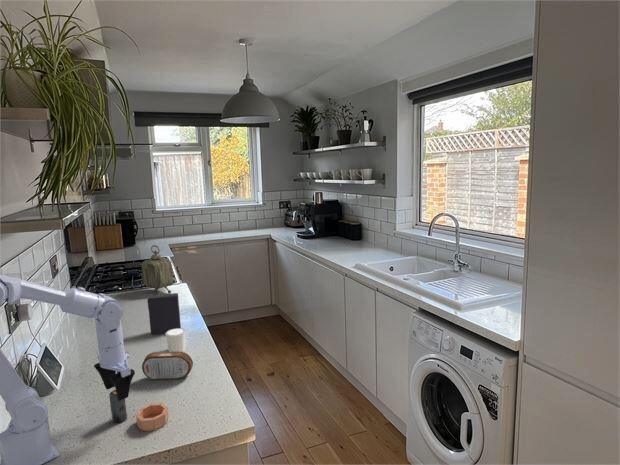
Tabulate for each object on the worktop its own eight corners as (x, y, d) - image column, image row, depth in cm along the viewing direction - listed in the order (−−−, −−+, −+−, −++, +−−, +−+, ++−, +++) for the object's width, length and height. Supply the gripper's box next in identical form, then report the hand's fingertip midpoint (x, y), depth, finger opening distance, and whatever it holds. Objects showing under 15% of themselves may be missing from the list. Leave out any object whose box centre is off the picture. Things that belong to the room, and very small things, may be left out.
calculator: (181, 327, 164) (178, 292, 162) (180, 332, 160) (177, 295, 158) (152, 331, 162) (148, 295, 159) (150, 335, 158) (147, 298, 155)
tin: (194, 374, 128) (192, 349, 127) (191, 379, 125) (189, 354, 123) (145, 376, 128) (143, 351, 126) (142, 382, 125) (139, 356, 123)
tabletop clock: (174, 293, 209) (170, 245, 204) (159, 298, 202) (154, 248, 197) (158, 288, 217) (153, 242, 213) (142, 293, 210) (137, 245, 206)
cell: (116, 425, 104) (112, 396, 103) (110, 419, 106) (106, 391, 105) (129, 418, 107) (126, 390, 105) (123, 413, 109) (120, 385, 107)
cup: (146, 435, 100) (145, 424, 99) (133, 423, 105) (132, 412, 104) (173, 420, 105) (172, 410, 105) (159, 410, 110) (158, 400, 109)
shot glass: (187, 344, 149) (186, 326, 148) (186, 353, 142) (184, 334, 141) (168, 347, 148) (166, 328, 146) (165, 355, 141) (164, 336, 140)
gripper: (140, 345, 101) (145, 395, 103) (114, 330, 110) (120, 377, 113) (111, 356, 96) (117, 409, 98) (86, 340, 105) (93, 388, 108)
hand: (117, 392), depth 105 cm, fingers open, 7 cm apart
